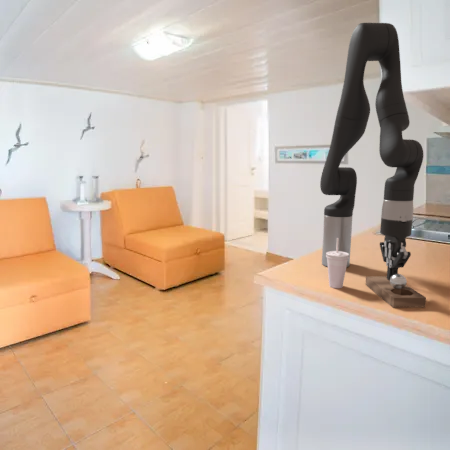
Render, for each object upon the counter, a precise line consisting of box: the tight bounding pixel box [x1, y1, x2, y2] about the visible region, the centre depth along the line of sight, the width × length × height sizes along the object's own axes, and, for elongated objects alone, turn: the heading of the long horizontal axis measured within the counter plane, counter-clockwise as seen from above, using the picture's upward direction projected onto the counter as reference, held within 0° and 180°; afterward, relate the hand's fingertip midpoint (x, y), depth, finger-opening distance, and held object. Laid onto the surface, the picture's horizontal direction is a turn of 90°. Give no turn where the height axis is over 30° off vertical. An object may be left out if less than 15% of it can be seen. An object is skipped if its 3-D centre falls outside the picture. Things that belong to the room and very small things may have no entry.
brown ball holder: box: [364, 275, 427, 309], centre depth 100 cm, size 17×8×2 cm, turn 2°
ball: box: [390, 273, 407, 289], centre depth 97 cm, size 4×4×4 cm
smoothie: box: [326, 238, 349, 289], centre depth 106 cm, size 6×6×14 cm
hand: (391, 280), depth 101 cm, fingers closed
